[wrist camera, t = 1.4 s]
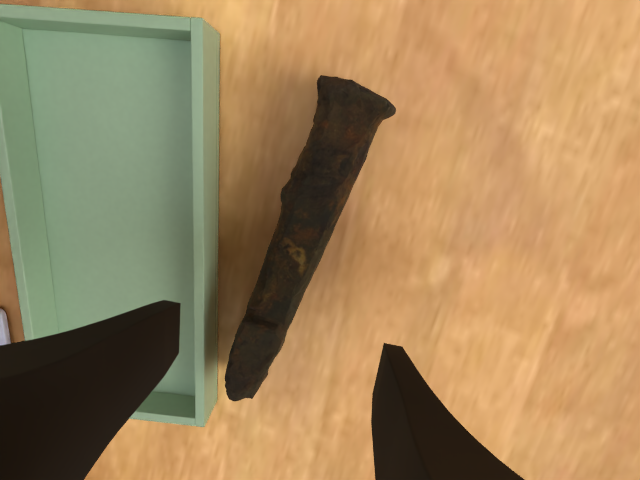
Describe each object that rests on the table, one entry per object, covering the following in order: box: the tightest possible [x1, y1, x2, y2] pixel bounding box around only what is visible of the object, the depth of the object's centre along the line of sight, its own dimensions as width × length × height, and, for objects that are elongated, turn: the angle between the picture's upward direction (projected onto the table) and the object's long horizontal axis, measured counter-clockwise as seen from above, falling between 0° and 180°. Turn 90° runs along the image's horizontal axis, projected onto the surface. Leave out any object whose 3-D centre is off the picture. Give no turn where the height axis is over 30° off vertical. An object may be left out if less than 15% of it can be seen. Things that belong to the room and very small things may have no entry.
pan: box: [0, 4, 220, 427], centre depth 21 cm, size 11×23×2 cm, turn 175°
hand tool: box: [225, 75, 396, 401], centre depth 20 cm, size 19×4×5 cm, turn 155°
